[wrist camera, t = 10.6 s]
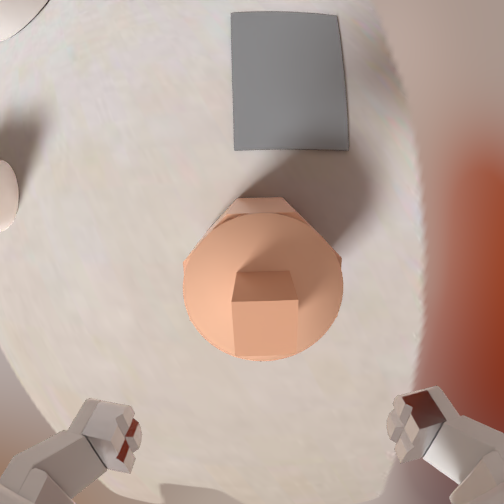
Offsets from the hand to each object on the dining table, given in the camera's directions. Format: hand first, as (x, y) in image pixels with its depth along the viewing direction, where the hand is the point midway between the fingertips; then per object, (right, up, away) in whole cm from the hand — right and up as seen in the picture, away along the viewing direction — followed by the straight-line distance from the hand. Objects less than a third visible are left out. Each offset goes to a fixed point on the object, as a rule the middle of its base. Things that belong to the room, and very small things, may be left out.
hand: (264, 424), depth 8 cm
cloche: (0, +5, +19) cm, 20 cm away
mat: (+3, +21, +15) cm, 26 cm away
